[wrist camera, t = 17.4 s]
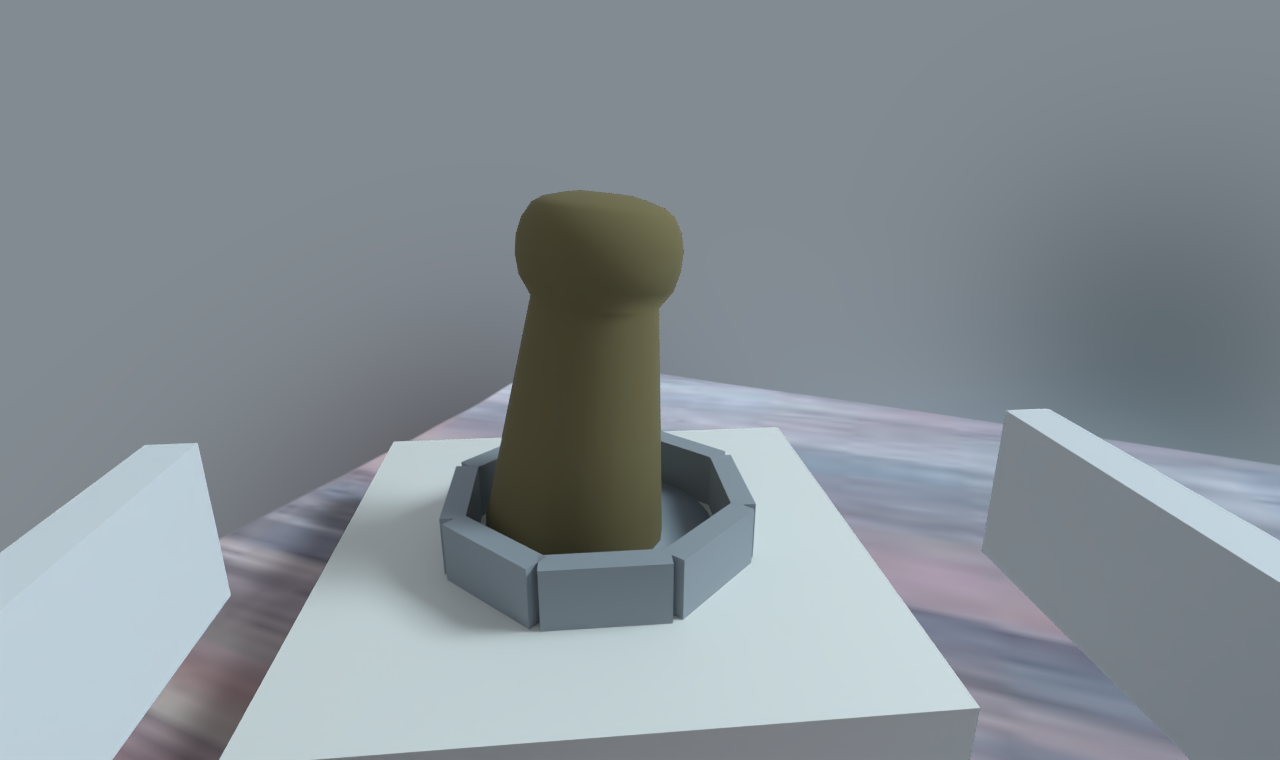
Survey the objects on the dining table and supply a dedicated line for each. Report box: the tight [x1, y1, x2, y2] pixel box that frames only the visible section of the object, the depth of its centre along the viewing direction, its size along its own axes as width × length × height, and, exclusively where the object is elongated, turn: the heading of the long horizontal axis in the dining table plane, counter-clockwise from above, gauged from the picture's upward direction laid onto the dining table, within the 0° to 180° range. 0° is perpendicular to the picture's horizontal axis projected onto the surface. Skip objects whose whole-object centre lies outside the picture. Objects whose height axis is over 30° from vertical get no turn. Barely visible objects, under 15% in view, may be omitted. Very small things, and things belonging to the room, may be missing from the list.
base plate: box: [219, 427, 980, 760], centre depth 26 cm, size 18×18×5 cm
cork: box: [486, 190, 684, 555], centre depth 23 cm, size 6×6×11 cm
